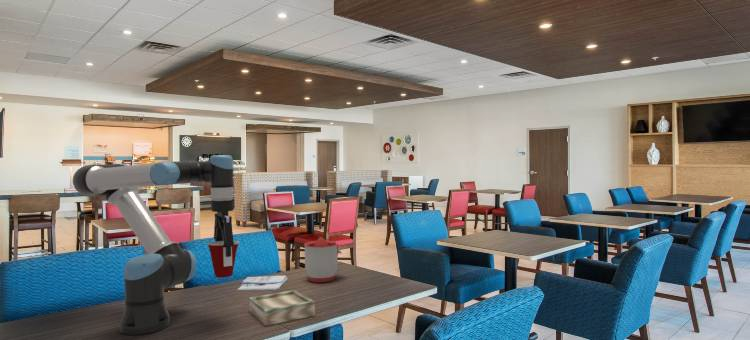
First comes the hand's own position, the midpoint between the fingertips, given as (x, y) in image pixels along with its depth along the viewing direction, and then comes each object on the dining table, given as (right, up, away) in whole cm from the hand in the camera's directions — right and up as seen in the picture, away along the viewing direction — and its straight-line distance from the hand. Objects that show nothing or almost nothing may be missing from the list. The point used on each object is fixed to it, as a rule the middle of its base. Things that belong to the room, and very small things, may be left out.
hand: (223, 262), depth 159 cm
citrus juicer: (+29, -19, +53) cm, 63 cm away
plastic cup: (0, -5, 0) cm, 5 cm away
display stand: (+19, -20, +6) cm, 28 cm away
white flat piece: (+2, -20, +46) cm, 50 cm away
